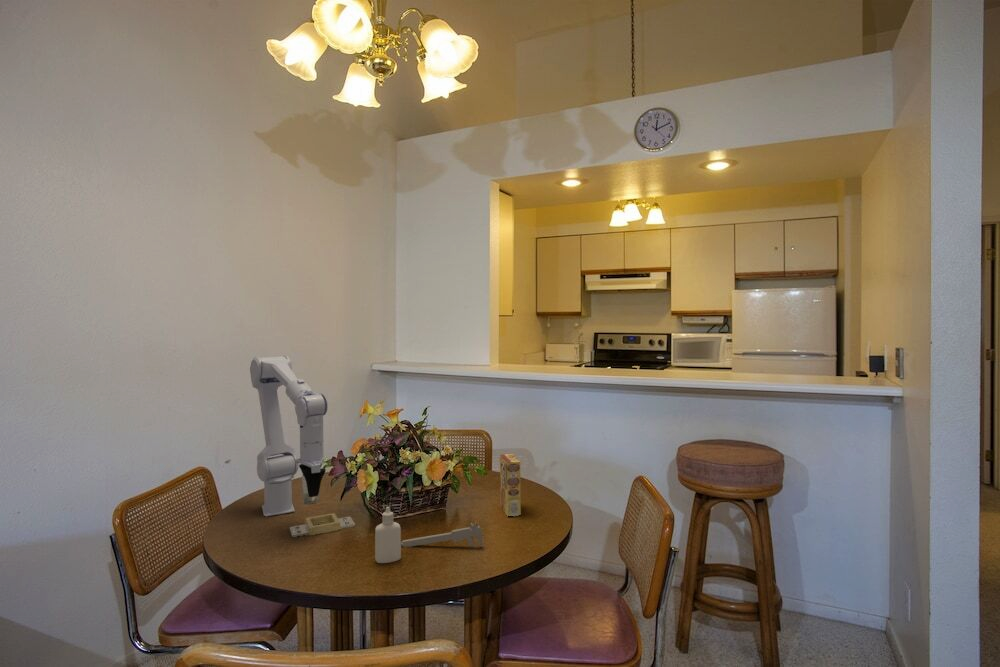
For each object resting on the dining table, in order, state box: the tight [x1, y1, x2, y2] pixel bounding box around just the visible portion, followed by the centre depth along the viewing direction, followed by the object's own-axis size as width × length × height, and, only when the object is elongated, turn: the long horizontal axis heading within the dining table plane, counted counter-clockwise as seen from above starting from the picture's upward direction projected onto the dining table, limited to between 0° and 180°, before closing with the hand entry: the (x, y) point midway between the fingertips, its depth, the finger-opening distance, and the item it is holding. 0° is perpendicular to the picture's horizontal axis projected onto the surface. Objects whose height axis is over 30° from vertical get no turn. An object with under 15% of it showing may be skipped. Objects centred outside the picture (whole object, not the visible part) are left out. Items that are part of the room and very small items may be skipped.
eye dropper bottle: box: [374, 506, 402, 564], centre depth 118 cm, size 4×6×12 cm
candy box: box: [499, 453, 522, 518], centre depth 148 cm, size 9×4×15 cm, turn 13°
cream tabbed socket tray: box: [289, 512, 356, 538], centre depth 136 cm, size 8×16×2 cm, turn 118°
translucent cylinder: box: [301, 474, 321, 505], centre depth 134 cm, size 4×4×7 cm
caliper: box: [401, 522, 483, 548], centre depth 125 cm, size 20×1×6 cm, turn 88°
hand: (312, 493), depth 135 cm, fingers closed on translucent cylinder, 4 cm apart
